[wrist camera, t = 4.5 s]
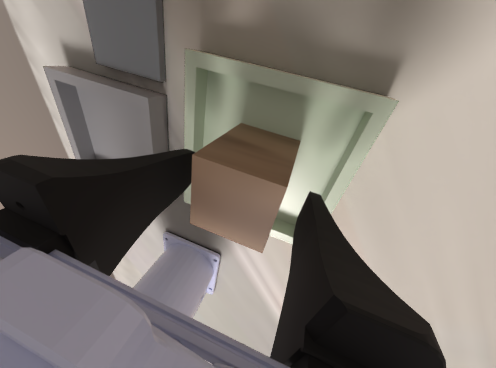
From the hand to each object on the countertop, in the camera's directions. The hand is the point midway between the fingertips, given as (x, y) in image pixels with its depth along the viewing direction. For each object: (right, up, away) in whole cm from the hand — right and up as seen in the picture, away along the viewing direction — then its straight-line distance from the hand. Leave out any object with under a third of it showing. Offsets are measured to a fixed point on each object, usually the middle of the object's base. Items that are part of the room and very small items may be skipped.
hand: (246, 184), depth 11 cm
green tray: (+1, +2, +4) cm, 5 cm away
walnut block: (+1, +2, +3) cm, 4 cm away
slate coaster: (-9, +11, +2) cm, 14 cm away
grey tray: (-12, +5, +7) cm, 15 cm away
